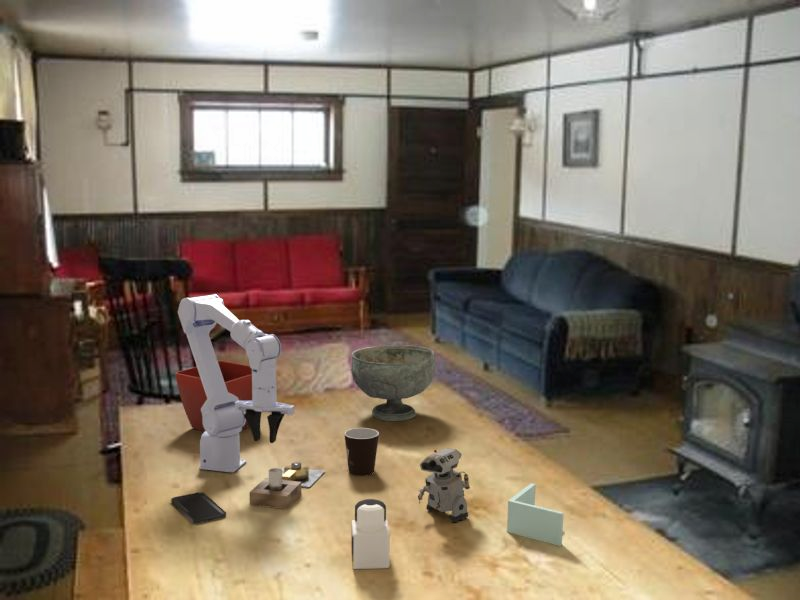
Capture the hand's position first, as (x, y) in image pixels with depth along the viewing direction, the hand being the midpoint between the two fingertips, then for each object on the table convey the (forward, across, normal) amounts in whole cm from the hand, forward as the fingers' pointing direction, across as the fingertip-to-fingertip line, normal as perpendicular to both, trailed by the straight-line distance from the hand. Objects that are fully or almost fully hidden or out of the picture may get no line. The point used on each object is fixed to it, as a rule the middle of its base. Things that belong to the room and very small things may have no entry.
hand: (265, 441), depth 206 cm
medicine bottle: (+11, +36, -32) cm, 49 cm away
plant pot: (+11, -29, +36) cm, 47 cm away
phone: (+11, -8, -19) cm, 23 cm away
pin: (+10, +6, -9) cm, 15 cm away
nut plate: (+10, +6, +5) cm, 13 cm away
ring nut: (+10, +6, +3) cm, 12 cm away
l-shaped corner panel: (+11, +68, -7) cm, 69 cm away
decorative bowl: (+11, +15, +62) cm, 65 cm away
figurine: (+11, +45, -8) cm, 47 cm away
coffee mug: (+11, +20, +15) cm, 27 cm away
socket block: (+10, +6, -9) cm, 15 cm away
